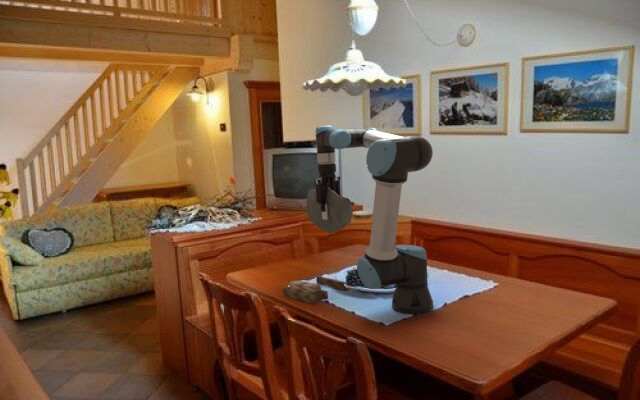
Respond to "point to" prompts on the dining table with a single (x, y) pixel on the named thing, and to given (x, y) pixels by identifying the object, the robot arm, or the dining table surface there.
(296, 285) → the offcut stack
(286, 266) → the dining table surface
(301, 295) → the walnut rack
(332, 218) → the rock
